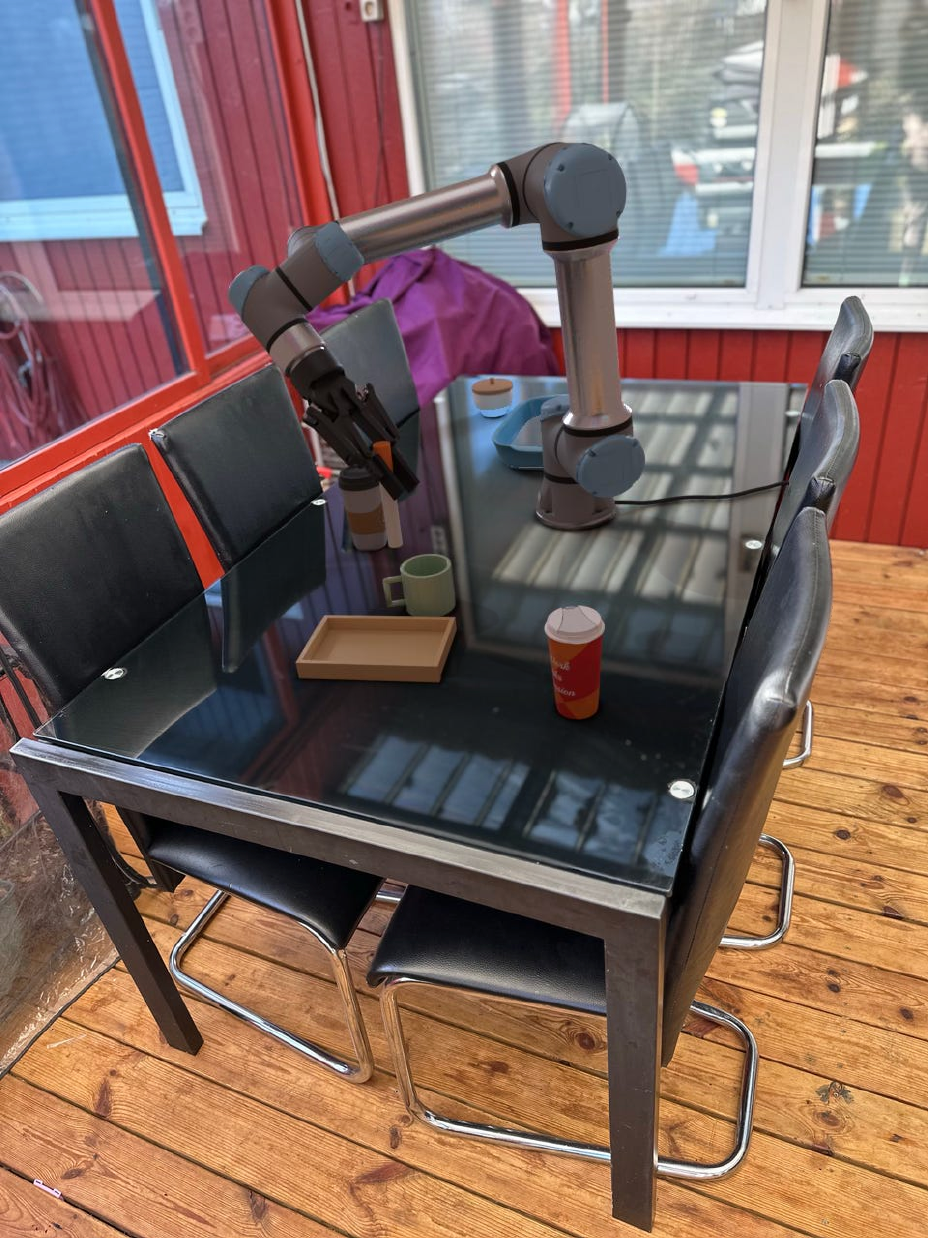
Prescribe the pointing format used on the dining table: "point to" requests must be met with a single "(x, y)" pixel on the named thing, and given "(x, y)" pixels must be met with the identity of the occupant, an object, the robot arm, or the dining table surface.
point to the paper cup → (575, 659)
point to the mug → (424, 586)
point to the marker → (389, 500)
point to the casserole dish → (511, 429)
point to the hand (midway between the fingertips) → (407, 491)
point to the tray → (378, 648)
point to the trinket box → (492, 393)
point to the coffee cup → (363, 508)
